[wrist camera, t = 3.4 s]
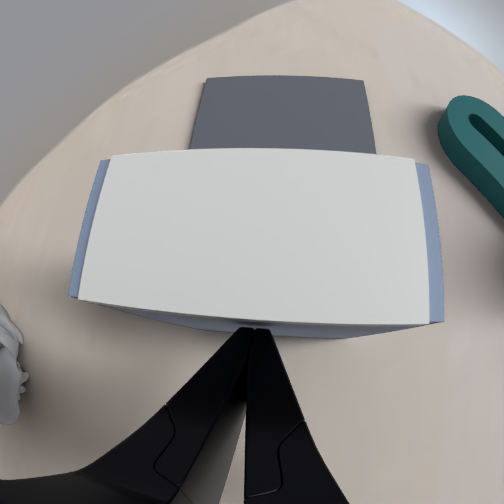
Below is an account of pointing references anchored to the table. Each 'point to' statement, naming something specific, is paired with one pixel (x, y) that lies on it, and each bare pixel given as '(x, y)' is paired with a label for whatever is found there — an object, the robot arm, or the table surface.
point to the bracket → (476, 145)
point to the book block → (264, 241)
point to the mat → (284, 114)
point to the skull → (10, 370)
